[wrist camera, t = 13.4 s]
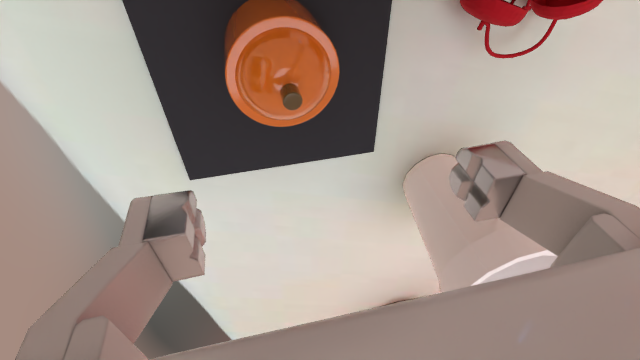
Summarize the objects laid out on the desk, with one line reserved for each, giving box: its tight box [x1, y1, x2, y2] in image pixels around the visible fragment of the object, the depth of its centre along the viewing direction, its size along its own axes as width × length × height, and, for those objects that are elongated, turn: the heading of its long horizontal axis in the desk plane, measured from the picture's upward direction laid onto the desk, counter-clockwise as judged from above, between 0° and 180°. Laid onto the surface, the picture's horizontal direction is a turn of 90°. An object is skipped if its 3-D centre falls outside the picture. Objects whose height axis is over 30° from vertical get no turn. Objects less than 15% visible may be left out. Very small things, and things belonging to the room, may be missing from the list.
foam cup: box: [403, 154, 558, 292], centre depth 30 cm, size 10×9×13 cm
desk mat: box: [122, 0, 392, 180], centre depth 22 cm, size 20×16×1 cm
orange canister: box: [224, 0, 340, 127], centre depth 19 cm, size 6×6×7 cm
